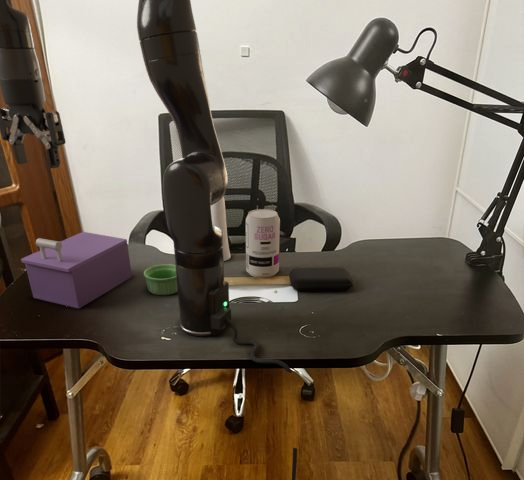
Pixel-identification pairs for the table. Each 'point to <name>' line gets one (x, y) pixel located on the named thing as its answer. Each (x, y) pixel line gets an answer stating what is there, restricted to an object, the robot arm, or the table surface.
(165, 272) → the ramekin
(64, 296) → the file box
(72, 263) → the lid
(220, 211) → the cosmetic bottle
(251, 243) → the supplement can
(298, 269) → the carrying case
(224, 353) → the table surface
